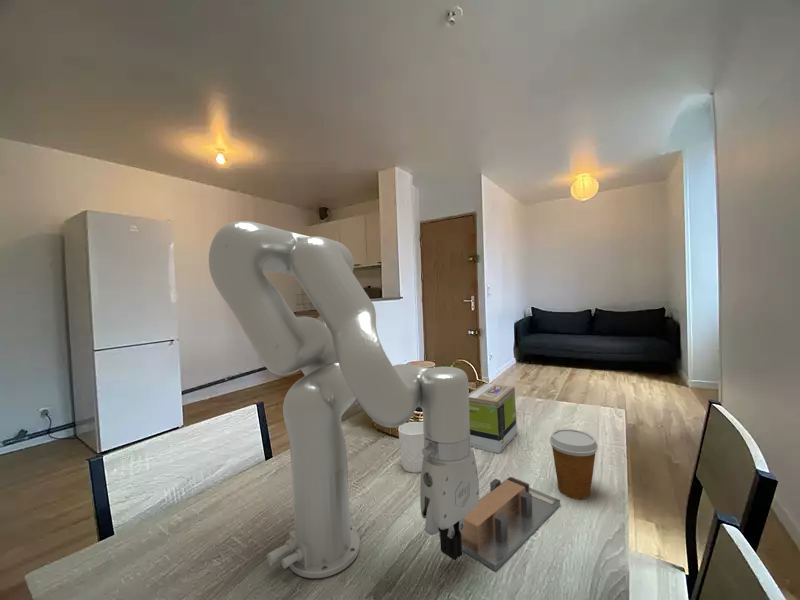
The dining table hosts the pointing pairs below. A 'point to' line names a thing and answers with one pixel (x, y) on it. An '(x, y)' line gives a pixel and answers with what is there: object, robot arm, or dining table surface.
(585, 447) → the disposable coffee cup
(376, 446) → the dining table surface
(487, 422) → the tea box
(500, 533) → the plate
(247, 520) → the dining table surface
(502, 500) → the wooden beam
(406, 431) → the white cup
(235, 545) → the dining table surface
